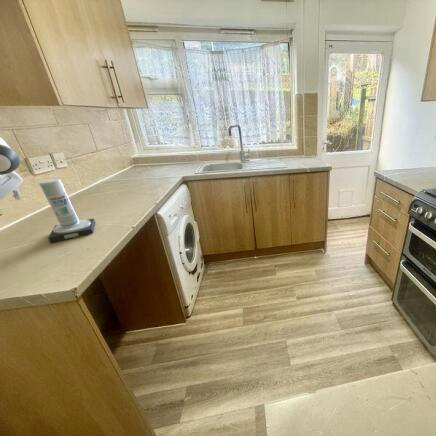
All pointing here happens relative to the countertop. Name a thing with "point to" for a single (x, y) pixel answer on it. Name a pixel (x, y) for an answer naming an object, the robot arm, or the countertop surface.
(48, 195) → the spray can
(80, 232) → the kitchen scale
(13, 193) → the robot arm
